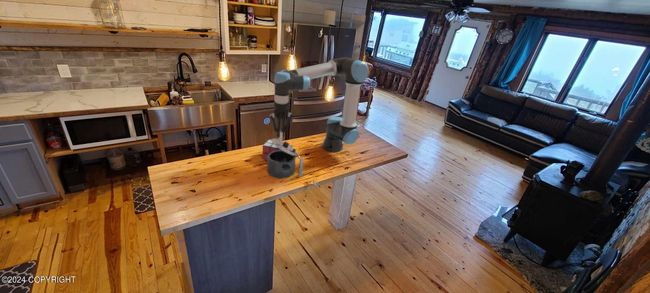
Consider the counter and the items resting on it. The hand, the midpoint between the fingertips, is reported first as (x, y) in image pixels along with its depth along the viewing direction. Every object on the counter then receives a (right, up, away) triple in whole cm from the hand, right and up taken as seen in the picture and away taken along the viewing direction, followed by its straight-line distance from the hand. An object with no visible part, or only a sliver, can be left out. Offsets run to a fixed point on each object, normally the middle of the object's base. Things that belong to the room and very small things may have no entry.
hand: (280, 142), depth 154 cm
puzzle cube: (-9, -10, +23) cm, 27 cm away
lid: (+2, -4, +3) cm, 5 cm away
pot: (-1, -17, +9) cm, 19 cm away
